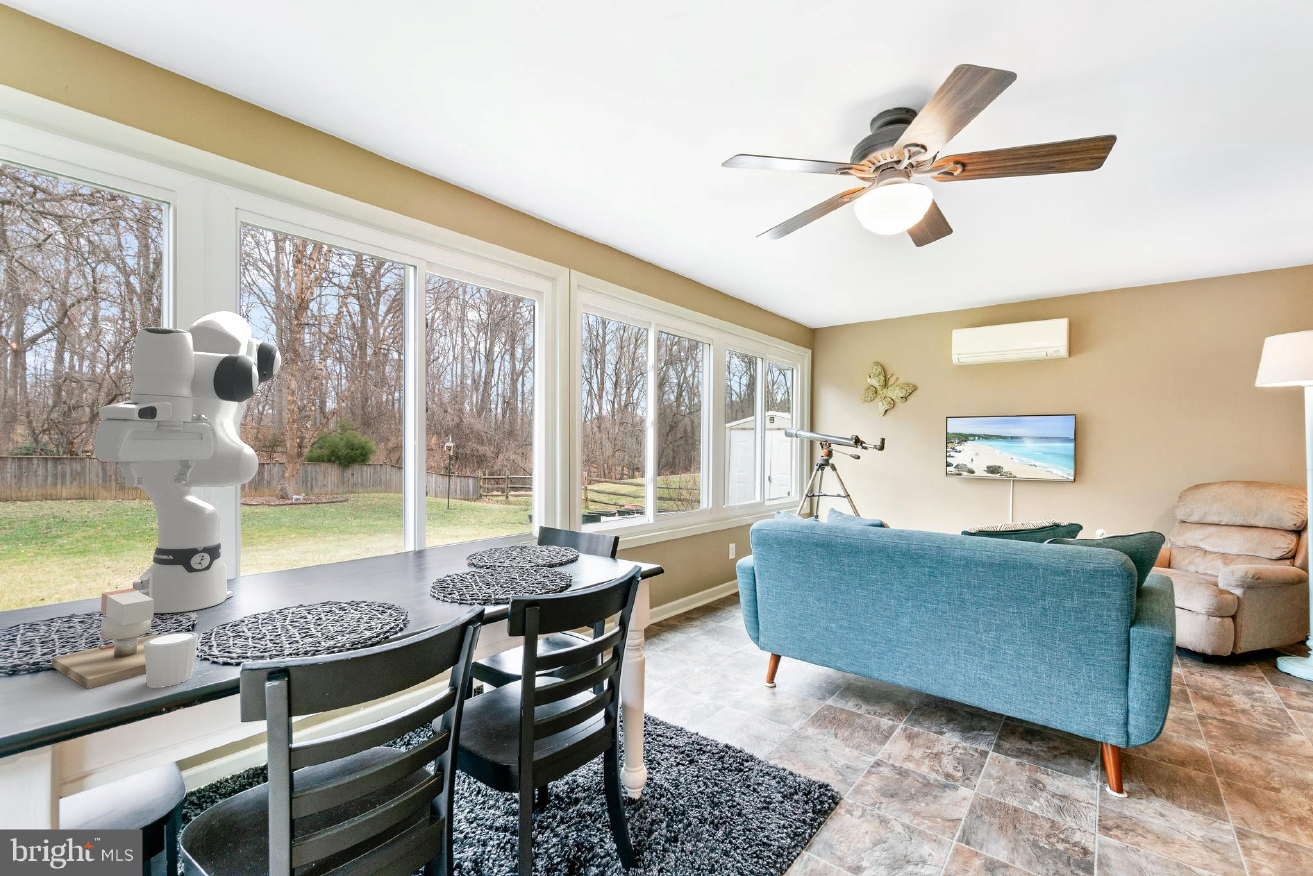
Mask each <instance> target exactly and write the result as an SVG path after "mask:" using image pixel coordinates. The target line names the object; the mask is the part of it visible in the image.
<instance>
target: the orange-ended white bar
mask: <svg viewBox="0 0 1313 876" xmlns="http://www.w3.org/2000/svg"><path fill="white" fill-rule="evenodd" d="M100 603H101V605H100V614H101V615H103V616H104V617H102V618H101V621H100V623H101V625H100V626H101V627H100V639H103V640H114V639H124V638H130V637H135V636H138V637H139V636H141V635H144V634H145V635H146V634H147V633H149V632H151V630H152V621H153V620H154V614H155V613H154V599H152V598H150V597H148V596H146V595H144V594H142V593H140V592H138V591H137V590H135V589H133V587H132V588H125V589H120V590H112V591H107V592H102V593H101V602H100Z"/></svg>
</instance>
